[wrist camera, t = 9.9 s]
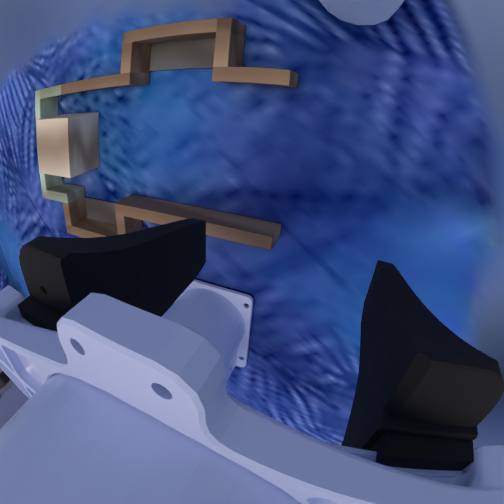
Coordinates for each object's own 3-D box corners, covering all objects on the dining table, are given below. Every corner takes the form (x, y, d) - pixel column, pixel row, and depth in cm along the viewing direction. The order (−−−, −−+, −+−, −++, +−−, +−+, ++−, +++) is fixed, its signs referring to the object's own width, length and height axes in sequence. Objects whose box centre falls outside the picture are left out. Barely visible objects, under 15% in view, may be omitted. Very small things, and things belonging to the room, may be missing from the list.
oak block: (100, 166, 27) (70, 178, 24) (67, 162, 28) (39, 172, 25) (99, 112, 24) (67, 117, 21) (66, 113, 26) (36, 119, 22)
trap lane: (274, 274, 25) (265, 291, 23) (63, 218, 32) (48, 226, 30) (303, 27, 16) (295, 17, 14) (54, 58, 23) (36, 60, 21)
